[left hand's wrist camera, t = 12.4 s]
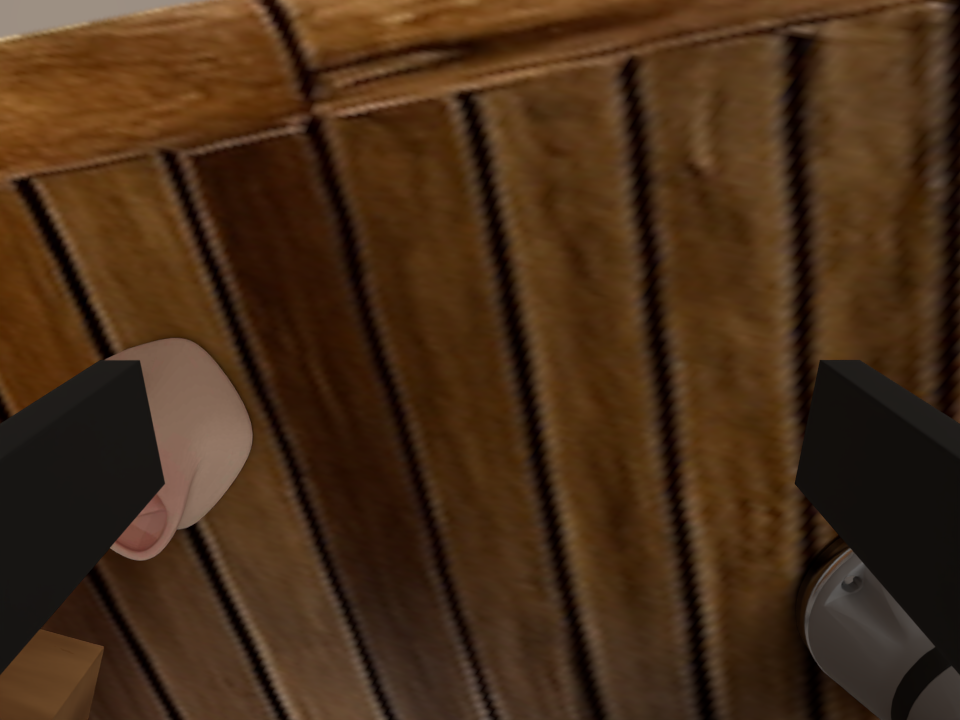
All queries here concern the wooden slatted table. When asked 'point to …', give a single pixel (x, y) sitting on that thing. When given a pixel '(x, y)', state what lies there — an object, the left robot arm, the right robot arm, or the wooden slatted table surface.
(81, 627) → the wooden slatted table surface
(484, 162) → the wooden slatted table surface
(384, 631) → the wooden slatted table surface
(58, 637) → the bar
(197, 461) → the anatomical model
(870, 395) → the left robot arm
